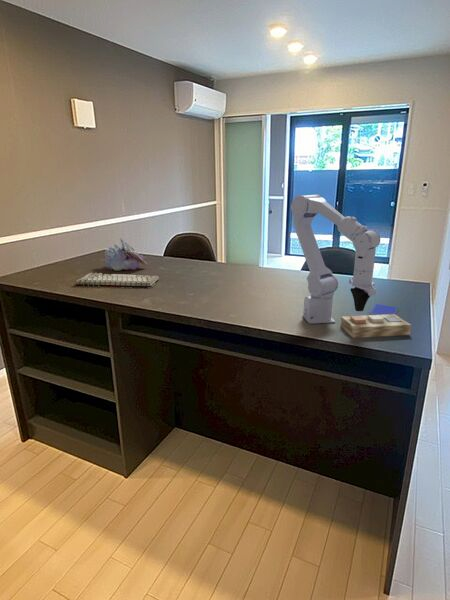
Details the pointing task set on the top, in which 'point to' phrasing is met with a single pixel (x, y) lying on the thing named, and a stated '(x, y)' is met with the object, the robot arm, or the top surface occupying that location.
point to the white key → (375, 319)
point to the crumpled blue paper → (122, 257)
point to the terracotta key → (358, 320)
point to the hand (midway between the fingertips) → (359, 310)
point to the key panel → (376, 327)
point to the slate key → (392, 319)
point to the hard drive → (383, 310)
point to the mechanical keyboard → (115, 281)
